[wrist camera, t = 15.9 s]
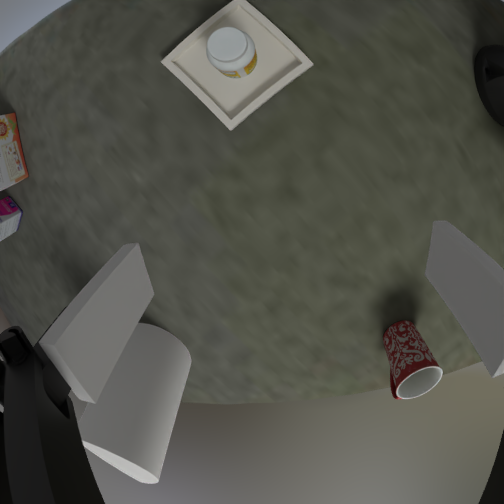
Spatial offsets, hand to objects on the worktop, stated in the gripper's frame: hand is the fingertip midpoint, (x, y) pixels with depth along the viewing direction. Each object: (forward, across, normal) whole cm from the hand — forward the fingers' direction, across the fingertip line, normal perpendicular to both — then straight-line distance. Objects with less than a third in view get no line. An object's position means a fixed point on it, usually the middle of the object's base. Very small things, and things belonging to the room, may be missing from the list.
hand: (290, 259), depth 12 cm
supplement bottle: (+28, -4, +14) cm, 32 cm away
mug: (+29, +22, -36) cm, 51 cm away
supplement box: (+29, -55, 0) cm, 62 cm away
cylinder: (+29, -29, -36) cm, 55 cm away
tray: (+29, -4, +14) cm, 32 cm away
